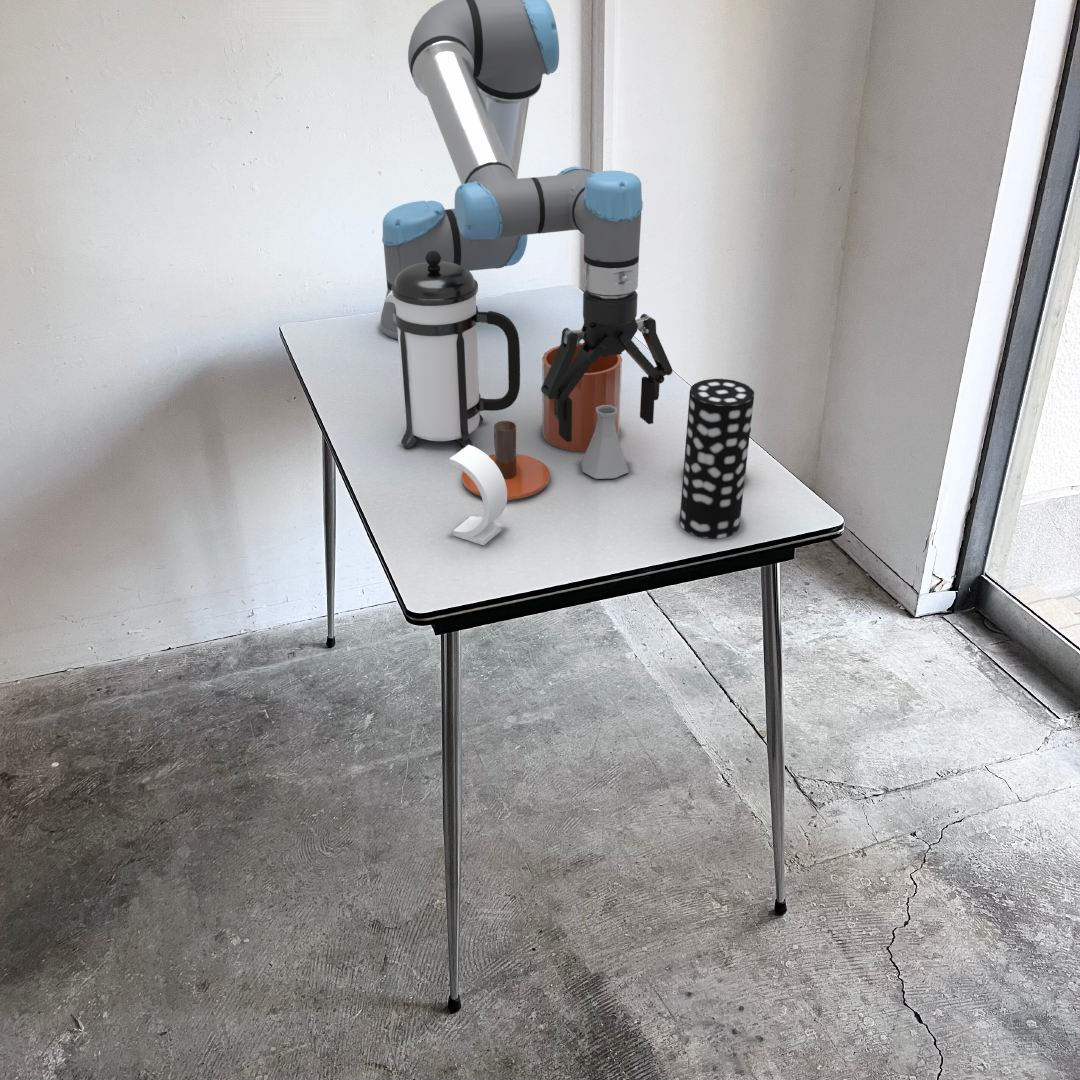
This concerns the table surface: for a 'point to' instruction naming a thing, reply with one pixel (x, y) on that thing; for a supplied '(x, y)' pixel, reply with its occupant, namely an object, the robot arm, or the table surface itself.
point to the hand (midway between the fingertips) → (606, 429)
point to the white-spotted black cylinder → (715, 457)
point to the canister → (583, 400)
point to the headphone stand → (490, 490)
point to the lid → (513, 465)
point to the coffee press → (444, 351)
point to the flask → (604, 448)
